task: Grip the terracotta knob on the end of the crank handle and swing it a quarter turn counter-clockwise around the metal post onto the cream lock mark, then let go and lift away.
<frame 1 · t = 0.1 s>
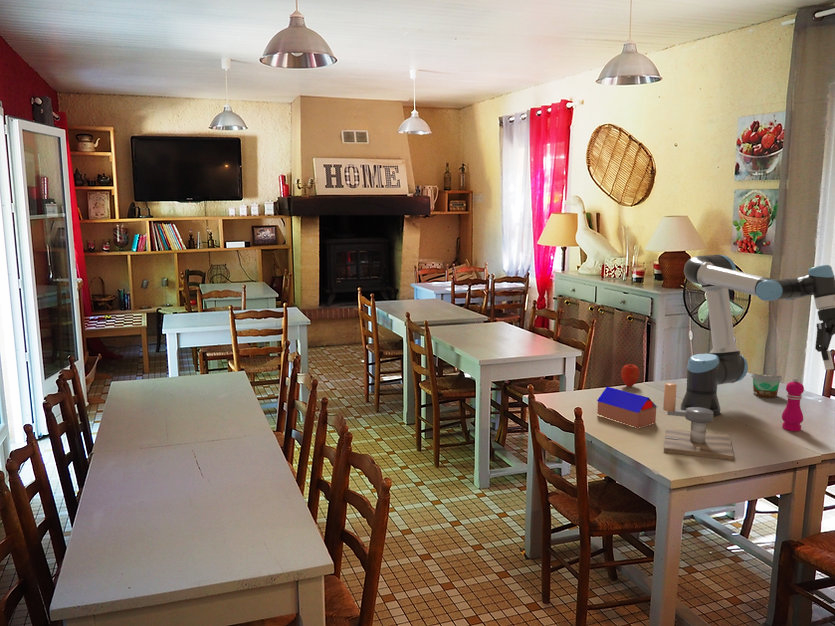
pepper mill: (791, 429, 260), on the table
crank handle: (688, 402, 242), point 16 cm above the table, hinge at 0.0°
house: (625, 420, 272), on the table
food container: (766, 397, 303), on the table
post base: (697, 445, 243), on the table
apple: (629, 387, 321), on the table
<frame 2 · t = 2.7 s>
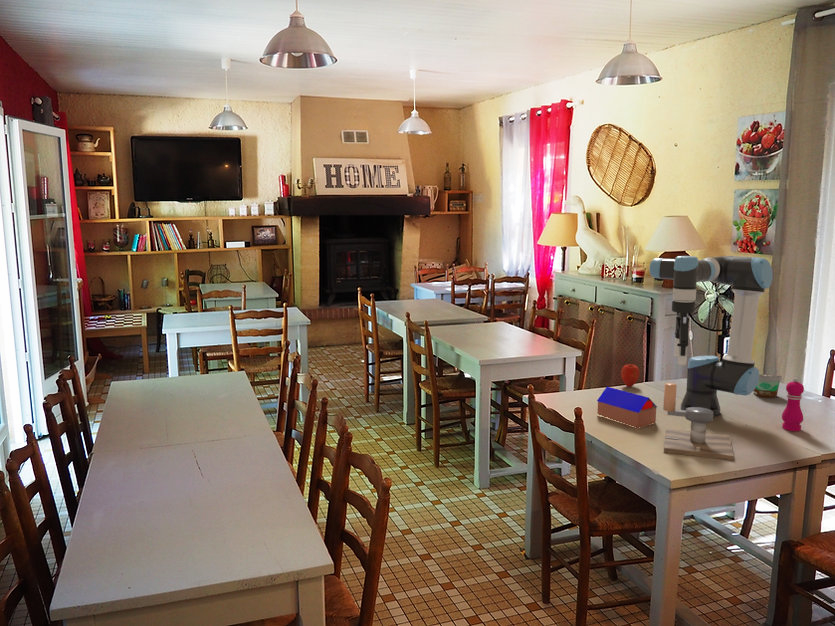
hand: (679, 360, 240), 31 cm above the table, tool pointing down, fingers open, 13 cm apart
nothing on the table moved.
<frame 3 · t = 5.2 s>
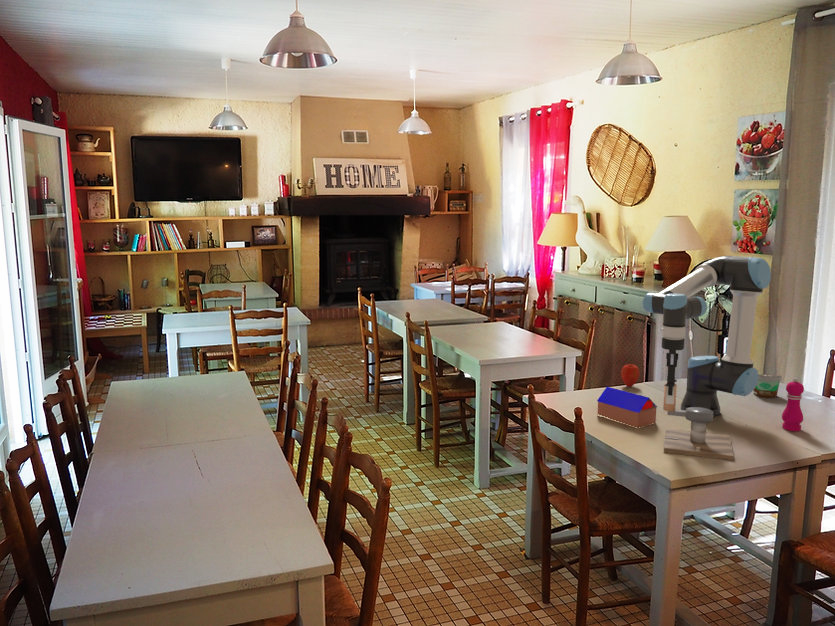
hand: (669, 401, 244), 15 cm above the table, tool pointing down, fingers closed on crank handle, 4 cm apart
crank handle: (688, 402, 242), point 16 cm above the table, hinge at 0.0°, touching gripper
everything else where it was.
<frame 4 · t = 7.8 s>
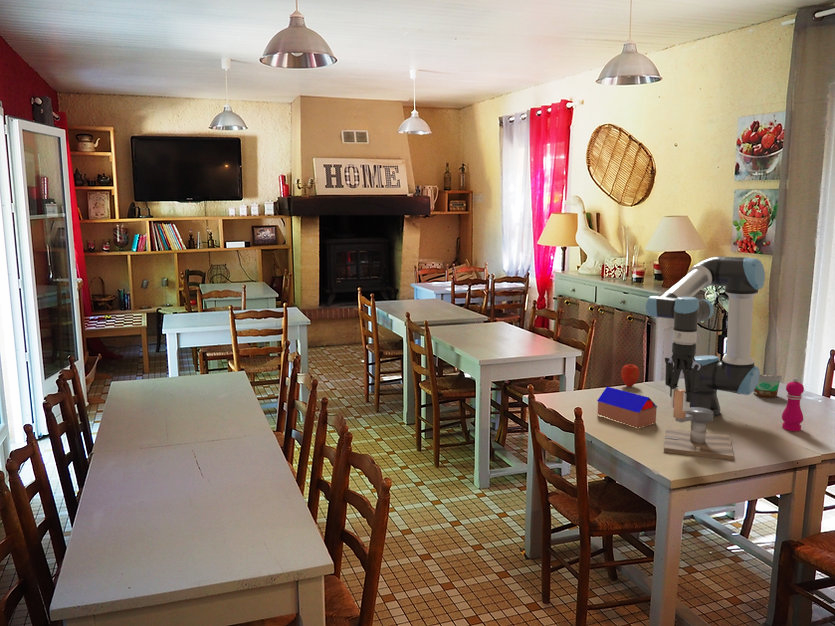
hand: (680, 408, 236), 15 cm above the table, tool pointing down, fingers closed on crank handle, 4 cm apart
crank handle: (692, 404, 239), point 16 cm above the table, hinge at 48.9°, touching gripper
everything else where it was.
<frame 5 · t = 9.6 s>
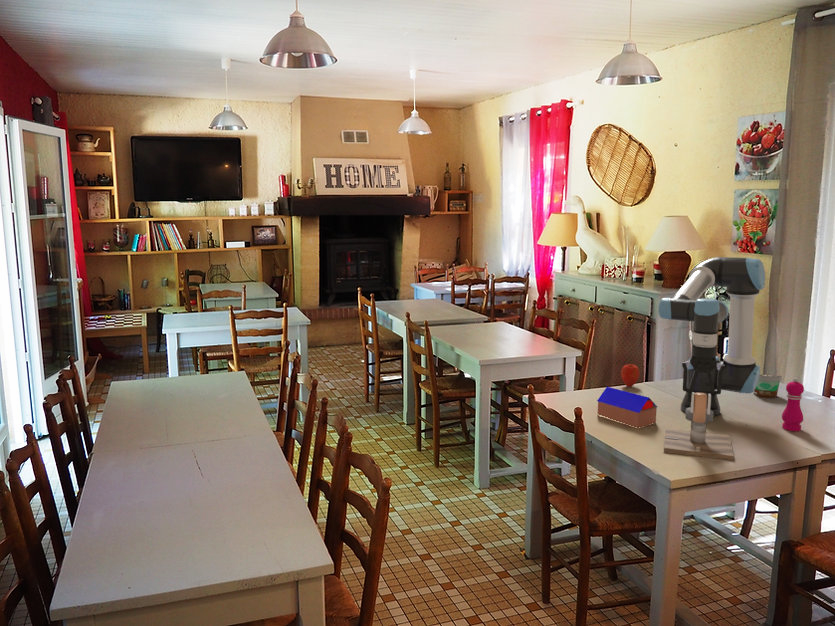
hand: (700, 412, 231), 15 cm above the table, tool pointing down, fingers open, 5 cm apart
crank handle: (699, 405, 237), point 16 cm above the table, hinge at 88.2°
everything else where it was.
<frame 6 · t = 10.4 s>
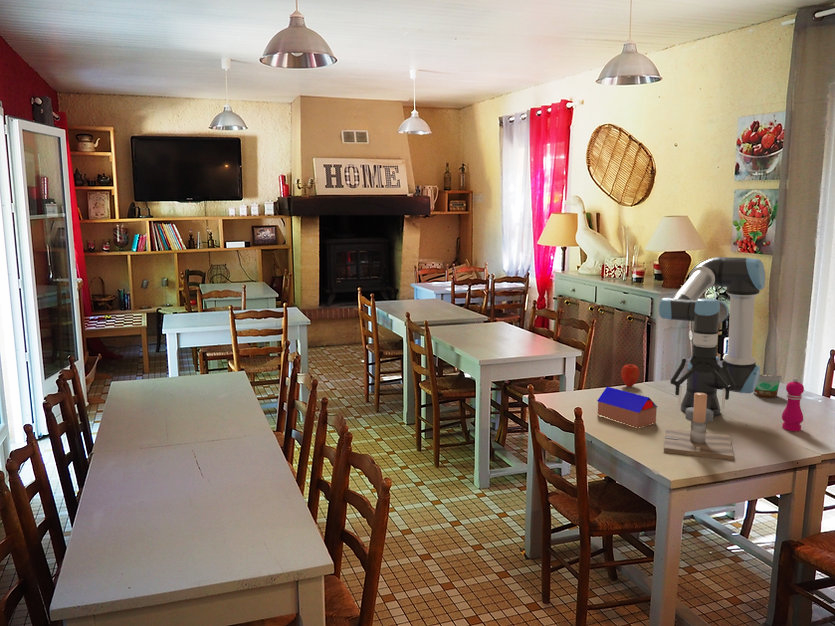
hand: (701, 406, 231), 17 cm above the table, tool pointing down, fingers open, 13 cm apart
nothing on the table moved.
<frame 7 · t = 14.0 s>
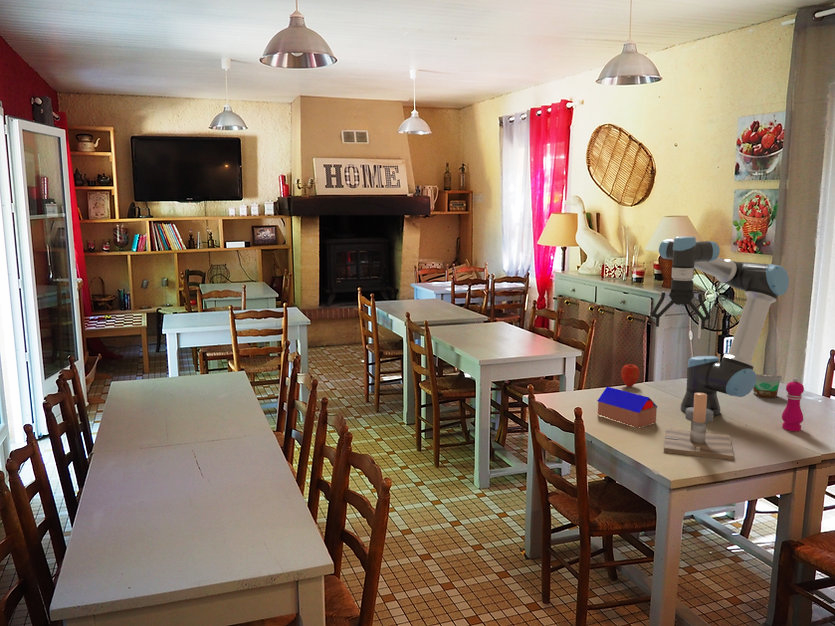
hand: (679, 336, 251), 37 cm above the table, tool pointing down, fingers open, 13 cm apart
nothing on the table moved.
at the end: crank handle at +88° (first picture: +0°); the gripper is holding nothing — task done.
